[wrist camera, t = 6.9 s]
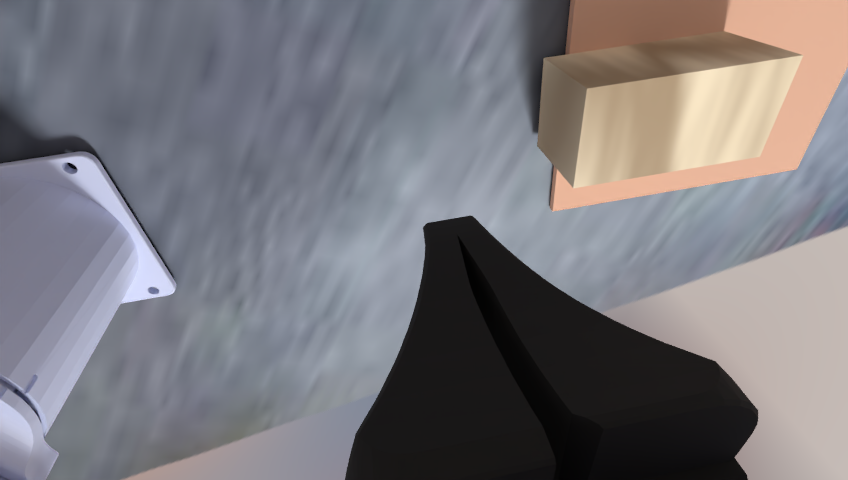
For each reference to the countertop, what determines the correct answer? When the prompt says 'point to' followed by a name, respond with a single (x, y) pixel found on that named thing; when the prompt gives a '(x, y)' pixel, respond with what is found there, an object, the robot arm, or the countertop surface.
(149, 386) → the countertop surface
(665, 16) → the terracotta mat
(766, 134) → the birch block
